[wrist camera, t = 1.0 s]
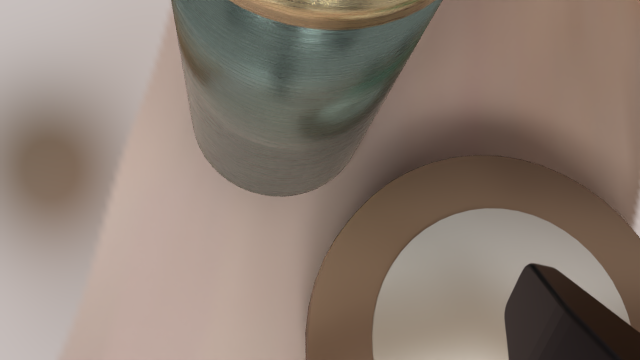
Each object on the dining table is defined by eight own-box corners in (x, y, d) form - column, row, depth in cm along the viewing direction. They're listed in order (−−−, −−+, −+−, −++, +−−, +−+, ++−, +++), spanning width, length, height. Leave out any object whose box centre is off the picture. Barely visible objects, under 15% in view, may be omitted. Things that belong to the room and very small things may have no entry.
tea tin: (381, 182, 23) (546, -16, 11) (204, 213, 22) (169, 27, 10) (343, 27, 25) (448, -294, 13) (177, 48, 24) (116, -288, 11)
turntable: (718, 495, 21) (750, 504, 19) (353, 608, 18) (362, 627, 17) (595, 141, 24) (615, 128, 23) (271, 196, 21) (274, 186, 20)
